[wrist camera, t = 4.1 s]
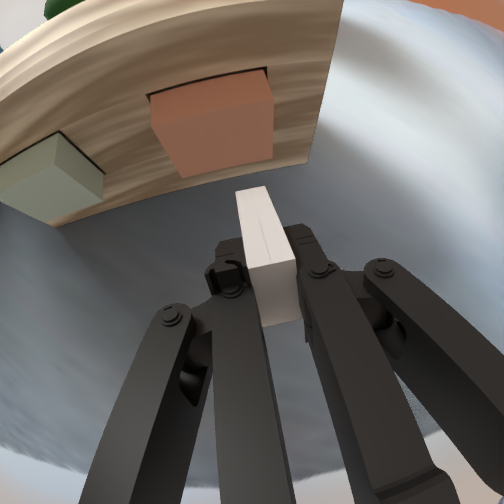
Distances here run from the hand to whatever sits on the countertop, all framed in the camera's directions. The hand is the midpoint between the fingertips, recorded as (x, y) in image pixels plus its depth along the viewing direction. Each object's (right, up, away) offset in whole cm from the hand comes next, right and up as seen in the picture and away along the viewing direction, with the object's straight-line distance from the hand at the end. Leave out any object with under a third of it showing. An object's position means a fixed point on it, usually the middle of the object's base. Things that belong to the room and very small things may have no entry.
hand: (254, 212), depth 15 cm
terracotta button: (-3, +7, +10) cm, 12 cm away
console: (-11, +10, +19) cm, 24 cm away
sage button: (-18, +3, +10) cm, 21 cm away
